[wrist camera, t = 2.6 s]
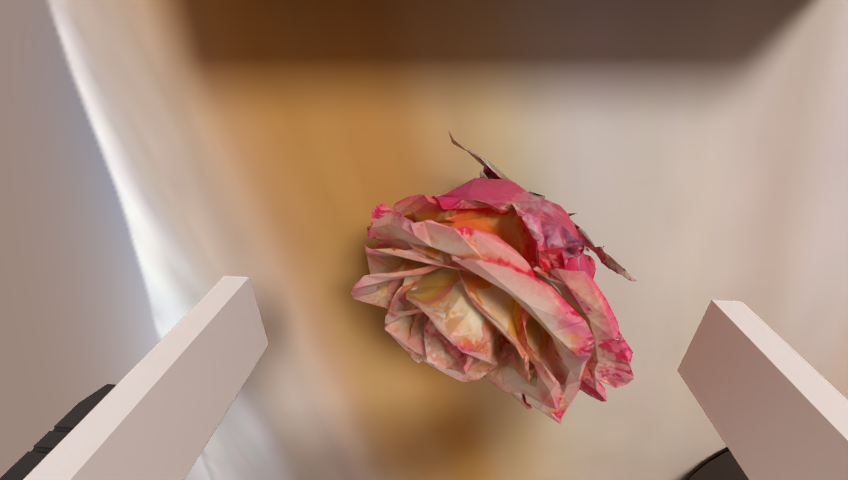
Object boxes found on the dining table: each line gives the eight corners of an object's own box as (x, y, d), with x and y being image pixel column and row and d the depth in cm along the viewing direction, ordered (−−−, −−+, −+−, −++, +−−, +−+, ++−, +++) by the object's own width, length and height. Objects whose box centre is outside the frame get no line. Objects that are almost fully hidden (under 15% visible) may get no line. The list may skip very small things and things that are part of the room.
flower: (514, 37, 11) (339, 197, 7) (734, 235, 11) (686, 494, 7) (412, 189, 19) (305, 301, 15) (539, 300, 20) (468, 438, 16)
